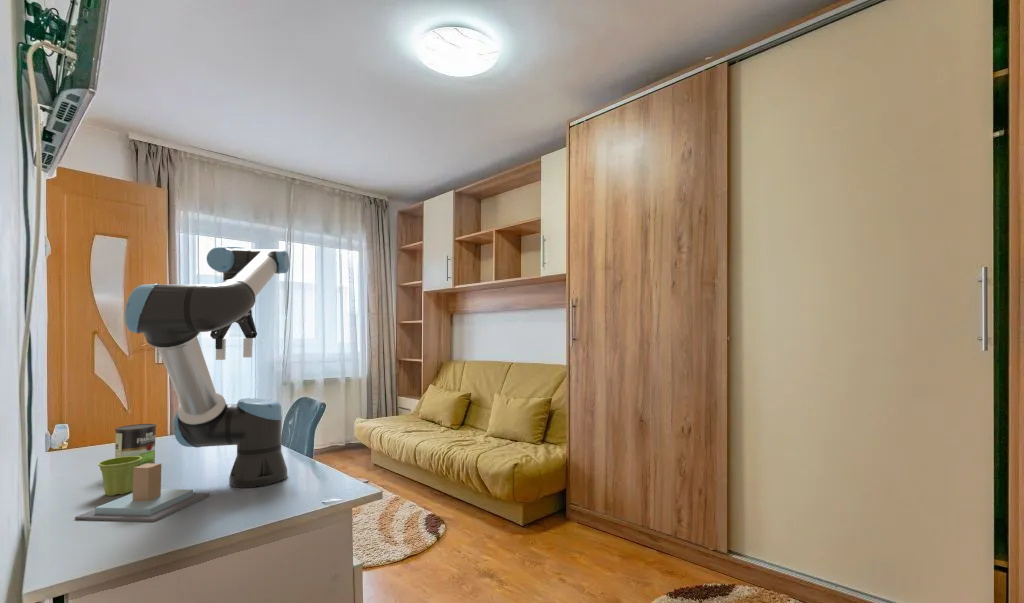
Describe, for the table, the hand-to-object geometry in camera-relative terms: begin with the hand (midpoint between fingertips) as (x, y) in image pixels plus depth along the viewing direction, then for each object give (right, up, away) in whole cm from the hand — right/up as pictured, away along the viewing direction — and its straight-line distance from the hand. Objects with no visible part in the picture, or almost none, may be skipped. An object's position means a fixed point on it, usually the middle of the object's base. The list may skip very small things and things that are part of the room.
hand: (234, 358), depth 163 cm
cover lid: (0, -32, -39) cm, 50 cm away
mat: (0, -33, -39) cm, 51 cm away
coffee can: (-27, -35, -7) cm, 45 cm away
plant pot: (-16, -34, -28) cm, 46 cm away
